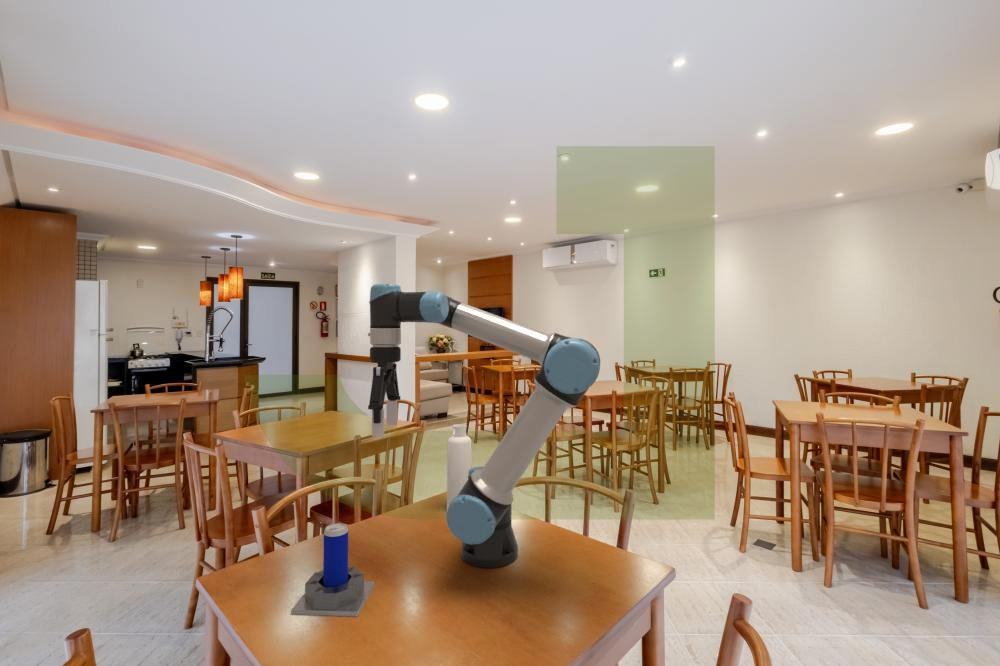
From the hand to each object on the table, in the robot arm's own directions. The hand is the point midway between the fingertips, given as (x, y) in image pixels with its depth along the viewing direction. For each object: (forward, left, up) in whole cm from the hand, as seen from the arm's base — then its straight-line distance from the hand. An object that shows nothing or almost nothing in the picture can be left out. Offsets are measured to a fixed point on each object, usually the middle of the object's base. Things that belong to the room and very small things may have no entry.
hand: (385, 430), depth 120 cm
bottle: (-14, -41, -35) cm, 55 cm away
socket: (+7, +14, -35) cm, 38 cm away
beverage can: (+7, +14, -34) cm, 37 cm away
